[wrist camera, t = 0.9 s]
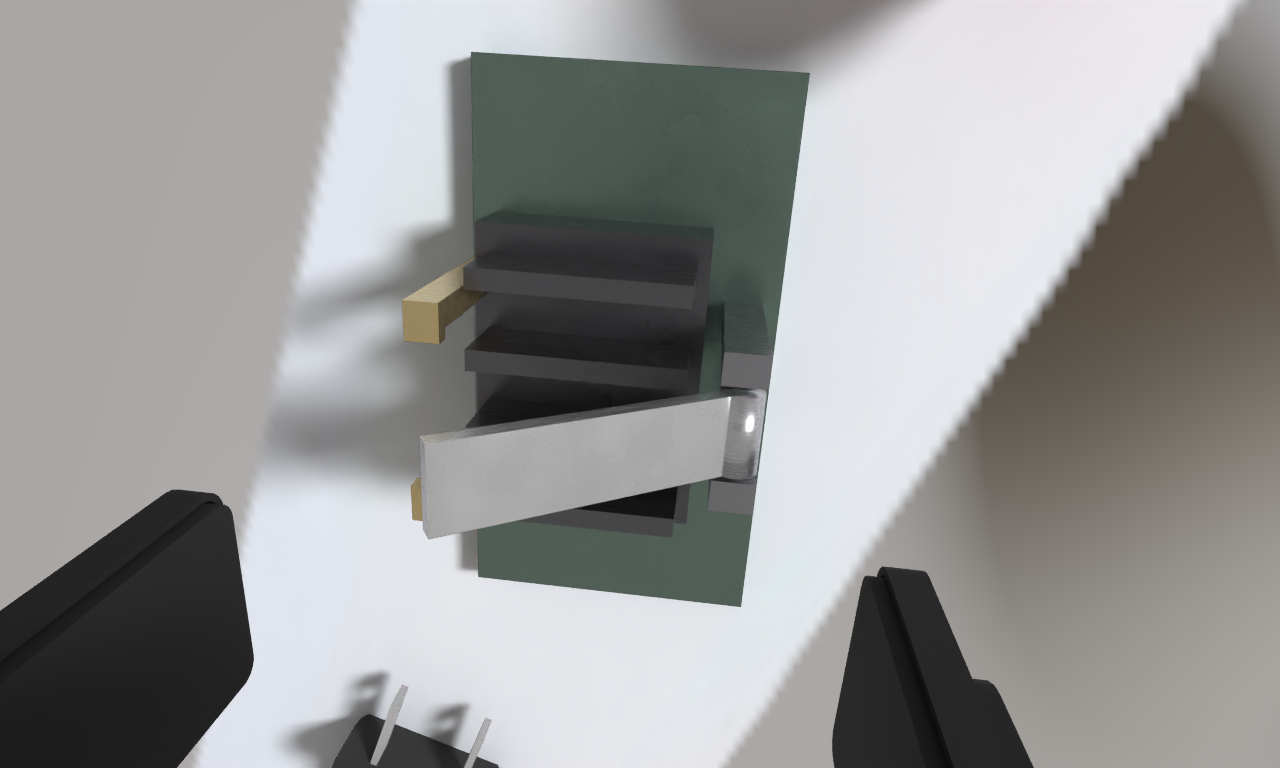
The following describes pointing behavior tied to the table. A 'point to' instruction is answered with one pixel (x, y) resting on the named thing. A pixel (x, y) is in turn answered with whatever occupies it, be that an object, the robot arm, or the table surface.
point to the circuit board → (622, 290)
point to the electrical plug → (403, 745)
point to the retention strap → (586, 458)
